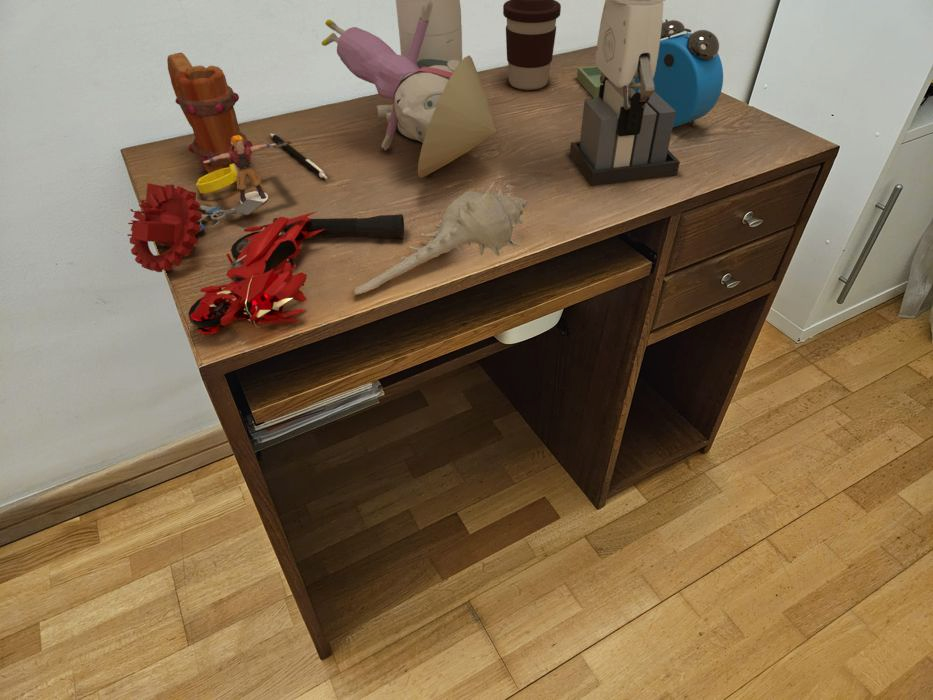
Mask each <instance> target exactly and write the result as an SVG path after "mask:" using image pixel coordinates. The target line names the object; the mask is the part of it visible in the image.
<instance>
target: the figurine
mask: <svg viewBox="0 0 933 700" xmlns="http://www.w3.org/2000/svg"><path fill="white" fill-rule="evenodd" d="M432 7H433V3H432V1H431V0H429V1H427V2H426V5H424V6H423V7H422V13H421V17H420V18H419V22H418V25H417V28H416V32H415V35H414V39H413V42H412V45H411V49H410V52H409V55H408V57H407V58H406V57H404V56H401V54H397V53H396V52H395V50H393V48H392V47H391V46H389V44H387V43H386V41H384V40H383V39H382V38H380V37H379V36H377V35H375V34H373V33H371V32H370V31H367V30H364V29H362V28H359V27H357V26H352V27H349V28H347V29H346V30H344V29H343V28H341V27H340V26H338V25H337V24H336V23H335V21H333V20H332V19H326V21H325V25H326V26H327V27H328V28H329V29H331V30H332V31H333V32H332V33H330V34H329V35H328V36H327V37H325V38H324V39H323V40H322V41H321V45H322V46H323V47H326V46H328V45H330V44H331V43H333V42H335V43H336V44H337V45H336V53H337V56H338V57H339V59H340V61H341V62H342V63H343V64H344V66H345V67H346V68H347V69H348V70H349V72H350V73H352V74H353V75H354V76H355V77H356V78H358V79H360V80H362V81H365V82H367V83H370V84H372V85H374V86H375V88H376V91H377V94H378V96H379V97H380V98H382V99H386V100H389V101H393V102H392V105H393V110H392V113H391V117H390V120H389V122H387V126H386V130H385V137H384V138H383V141H382V143H381V148H383V150H384V151H387V150H388V149H389V148H390V146H391V144H392V142H393V138H394V137H395V134H396V130H397V128H398V125H397V124H398V121H399V123H400V125H401V126H402V128H403V129H404V131H405V132H406V133H407V134H409V135H410V136H412V137H413V138H415V139H417V140H416V141H418V140H419V141H418V142H420V143H422V145H421V150H420V154H419V157H418V166H417V175H418V178H419V179H422V178H426V177H427V176H429V175H430V174H432V173H434V172H436V171H438V170H439V169H441V168H443V167H445V166H446V165H448V164H449V163H451V162H453V161H455V160H456V159H458V158H460V157H461V156H463V155H464V154H466V153H468V152H469V151H471V150H473V149H474V148H476V147H477V146H479V145H480V144H482V143H483V142H485V141H486V140H487V139H489V138H490V137H492V136H493V135H495V134H496V133H497V132H498V130H497V128H496V124H495V121H494V117H493V113H492V109H491V106H490V102H489V100H488V97H487V95H486V92H485V89H484V86H483V83H482V80H481V78H480V75H479V73H478V71H477V70H478V69H477V68H476V65H475V62H474V60H473V58H472V56H471V55H467V56H465V57H463V58H462V61H461V62H460V61H458V60H450V61H443V60H435V59H422V60H420V61H418V62H417V59H418V55H419V52H420V49H421V46H422V42H423V39H424V36H425V32H426V29H427V26H428V23H429V21H428V20H429V17H430V14H431V10H432ZM335 32H336V33H337V34H339V35H340V36H339V37H338V36H337V34H336V33H335Z"/></svg>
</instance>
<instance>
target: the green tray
mask: <svg viewBox="0 0 933 700" xmlns="http://www.w3.org/2000/svg"><path fill="white" fill-rule="evenodd" d="M601 73H602V72H601V71H600V70H599V68H598V67H597V66H596V65H591V66H579V67H577V72H576V80H577V81H578V83H580V85H581V86H582V87H583V88H584V89H585V90H586V91H587V92H588V94H589V95H590V96H591V97H592V99H594V98H599V91H600V85H604V84H601V83H600V76H601ZM630 83H634V82H630ZM632 89H633V90H634V91H635V92H636V90H635V88H632Z"/></svg>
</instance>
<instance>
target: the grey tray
mask: <svg viewBox="0 0 933 700" xmlns="http://www.w3.org/2000/svg"><path fill="white" fill-rule="evenodd" d="M579 146H580V140H579V141H571V142H570V148H569V156H570V158H571V159H572V161H573V162H574V163H575V166H577V168H578V169H579V171H580V172H581V173H582V175H583V176H584V178H585V179H586V180H587V182H588V183H589V185H590V186H599V185H600V186H601V185H607V184H608V185H609V184H614V183H624V182H631V181H640V180H648V179H654V178H663V177H672V176H677V175H678V172H679V168H680V163H681V161H680V160H679V159H678V158H677V157H676V156H675V155H674V154H673V153H672V152H671V151H670V150H669V149H668V152H667V157H666V162H658V163H650V164H642V165H633V166H625V167H617V168H608V169H600V170H595V169H594V168H593V166H592V165H591V164H590V162H589V161H588V160H587V158H586V157H585V156H584V154H583V153H582V151H581V150H580V149H579Z"/></svg>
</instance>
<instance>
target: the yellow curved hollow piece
mask: <svg viewBox="0 0 933 700" xmlns="http://www.w3.org/2000/svg"><path fill="white" fill-rule="evenodd" d="M237 175H238V169H237V167H236V165H235V164H234V163H233V164H230V167H227V168H223V169H219V170H216V171H214V172H211V173H209V172H208V173H207V174H205V175H203V176H201V177H199V178H198V179H197V182H196V185H195V186H196V188H197V189H198V191H199V193H200V194H209V193H212V192H214V193H215V192H217V191H220V190H222V189H225V188H227V187H229V186H230V185H232V184H234V183H235V182H236V183H237Z"/></svg>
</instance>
